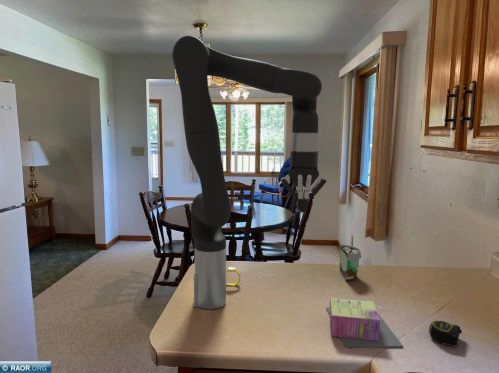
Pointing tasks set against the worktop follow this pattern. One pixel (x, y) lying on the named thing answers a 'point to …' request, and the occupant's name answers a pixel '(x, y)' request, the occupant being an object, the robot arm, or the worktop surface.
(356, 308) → the box
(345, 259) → the food container
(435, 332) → the tape measure
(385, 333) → the mat
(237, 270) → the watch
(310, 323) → the worktop surface
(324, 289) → the worktop surface
